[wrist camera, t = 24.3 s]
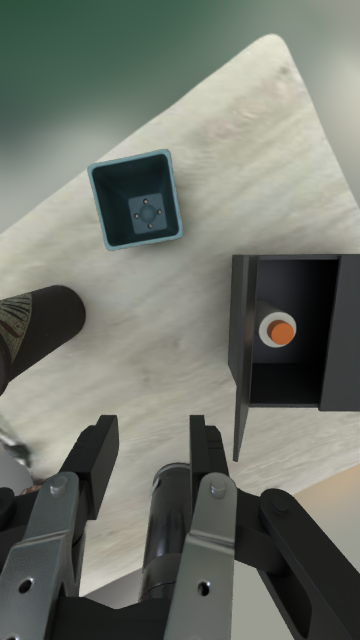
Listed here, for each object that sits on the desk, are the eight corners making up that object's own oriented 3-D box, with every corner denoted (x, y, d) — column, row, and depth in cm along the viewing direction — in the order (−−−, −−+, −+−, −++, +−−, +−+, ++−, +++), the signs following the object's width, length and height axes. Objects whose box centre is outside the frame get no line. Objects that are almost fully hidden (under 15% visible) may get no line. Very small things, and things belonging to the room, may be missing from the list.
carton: (328, 364, 41) (391, 412, 29) (227, 364, 41) (246, 411, 29) (344, 254, 37) (426, 253, 24) (232, 255, 37) (256, 254, 25)
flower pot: (124, 252, 37) (106, 252, 28) (109, 186, 35) (85, 164, 26) (184, 241, 37) (184, 237, 28) (173, 174, 35) (169, 147, 26)
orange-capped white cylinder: (270, 329, 39) (298, 353, 29) (241, 327, 39) (260, 351, 29) (274, 300, 38) (305, 316, 28) (245, 298, 38) (266, 313, 28)
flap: (237, 462, 22) (232, 461, 22) (248, 411, 29) (244, 410, 29) (249, 256, 18) (243, 256, 18) (258, 255, 25) (254, 255, 25)
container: (89, 287, 38) (-8, 319, 19) (87, 343, 41) (-1, 424, 21) (31, 280, 38) (-126, 306, 19) (32, 337, 41) (-106, 413, 21)
